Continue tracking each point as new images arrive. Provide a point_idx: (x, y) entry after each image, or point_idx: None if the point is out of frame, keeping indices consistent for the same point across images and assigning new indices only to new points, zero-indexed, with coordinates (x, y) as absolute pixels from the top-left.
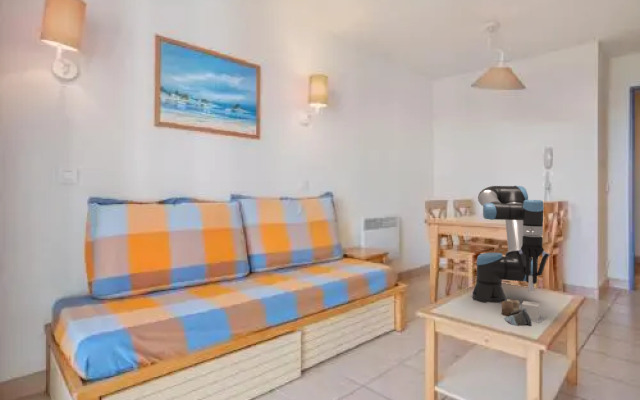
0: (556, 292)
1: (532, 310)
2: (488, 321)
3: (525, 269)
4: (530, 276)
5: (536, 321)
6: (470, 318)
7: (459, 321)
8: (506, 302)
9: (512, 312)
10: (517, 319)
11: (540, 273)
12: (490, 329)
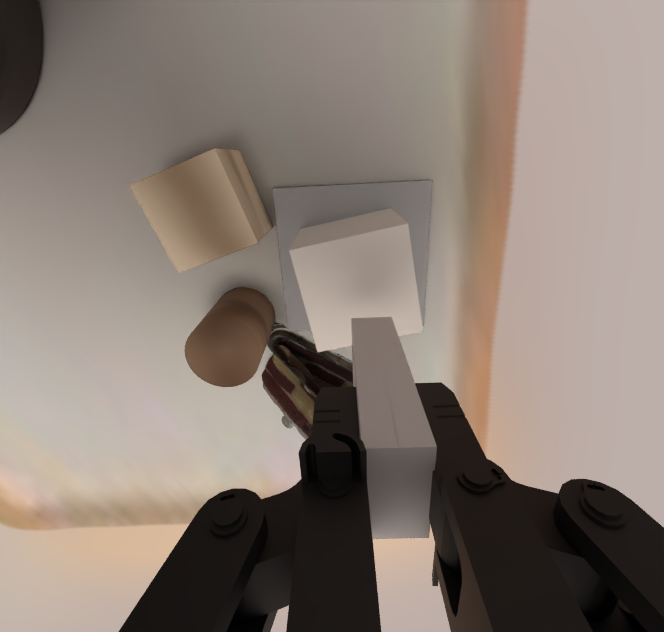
0: None
1: None
2: (235, 449)
3: (247, 585)
4: (393, 531)
5: None
6: (166, 467)
7: (168, 520)
8: (217, 358)
9: (283, 362)
10: None
11: (614, 620)
12: None
